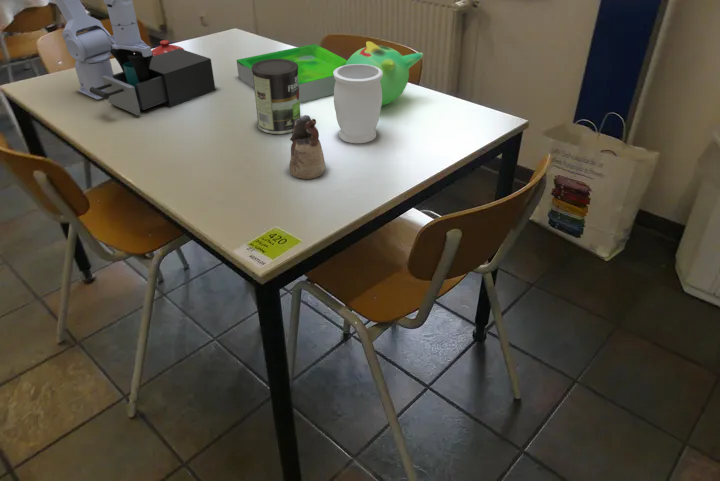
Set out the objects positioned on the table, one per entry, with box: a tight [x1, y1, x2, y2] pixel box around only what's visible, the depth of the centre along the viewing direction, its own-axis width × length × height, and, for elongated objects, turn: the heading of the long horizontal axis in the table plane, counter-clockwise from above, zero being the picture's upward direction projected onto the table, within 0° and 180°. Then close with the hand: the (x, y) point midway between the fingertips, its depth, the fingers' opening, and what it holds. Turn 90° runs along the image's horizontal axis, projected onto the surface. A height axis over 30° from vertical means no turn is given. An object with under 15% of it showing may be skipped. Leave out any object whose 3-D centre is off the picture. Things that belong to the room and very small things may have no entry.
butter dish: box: [151, 39, 185, 56], centre depth 160 cm, size 12×12×8 cm
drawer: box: [90, 71, 168, 116], centre depth 139 cm, size 19×12×7 cm, turn 142°
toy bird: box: [345, 40, 424, 107], centre depth 140 cm, size 18×17×15 cm
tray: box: [236, 43, 348, 104], centre depth 154 cm, size 25×25×5 cm
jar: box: [333, 64, 383, 144], centre depth 125 cm, size 11×10×15 cm
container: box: [123, 61, 140, 90], centre depth 138 cm, size 5×5×6 cm
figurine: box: [289, 114, 326, 180], centre depth 113 cm, size 7×7×12 cm
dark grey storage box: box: [149, 48, 216, 107], centre depth 147 cm, size 14×13×8 cm
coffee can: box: [251, 59, 302, 135], centre depth 130 cm, size 10×10×14 cm
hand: (137, 79), depth 139 cm, fingers closed on container, 5 cm apart
